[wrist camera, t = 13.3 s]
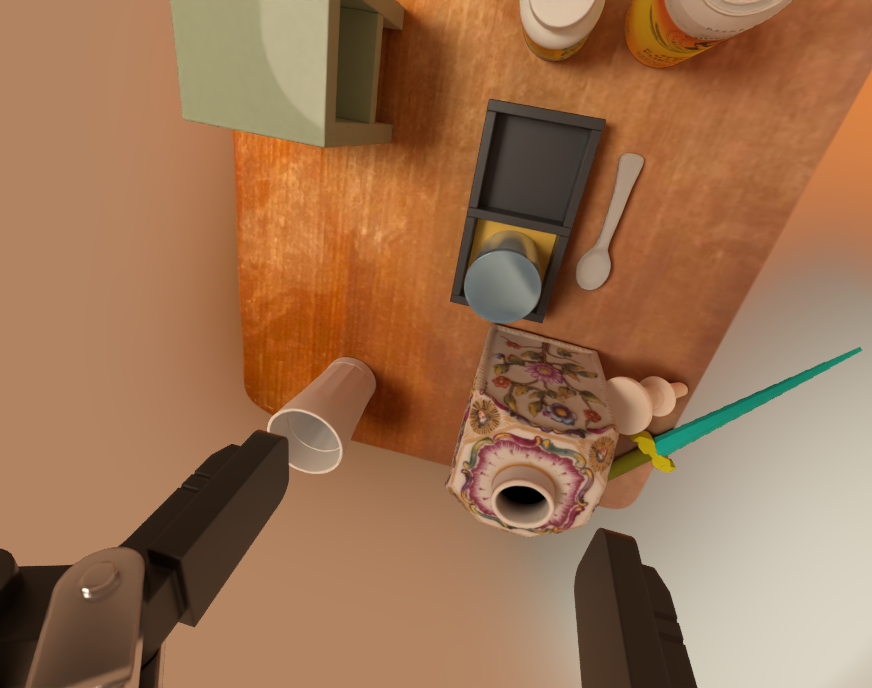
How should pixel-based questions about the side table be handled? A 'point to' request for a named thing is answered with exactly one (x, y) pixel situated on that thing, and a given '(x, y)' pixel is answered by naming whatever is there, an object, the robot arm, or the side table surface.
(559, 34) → the supplement bottle
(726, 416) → the toy sword
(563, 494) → the decorative jar
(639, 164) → the spoon
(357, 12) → the shelf
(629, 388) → the beige rounded piece
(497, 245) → the blue grey cylinder
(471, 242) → the tray
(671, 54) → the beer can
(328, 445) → the cup
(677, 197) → the side table surface
